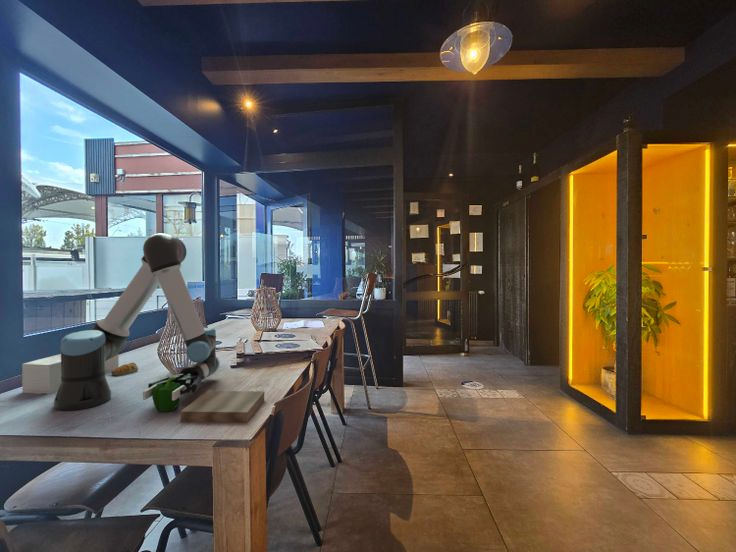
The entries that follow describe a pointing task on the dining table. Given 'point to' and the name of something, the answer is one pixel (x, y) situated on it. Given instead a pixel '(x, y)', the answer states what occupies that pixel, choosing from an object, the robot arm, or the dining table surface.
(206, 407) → the walnut board
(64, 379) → the robot arm
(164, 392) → the bell pepper
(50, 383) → the long cream beam
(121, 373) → the pastry
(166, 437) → the dining table surface
